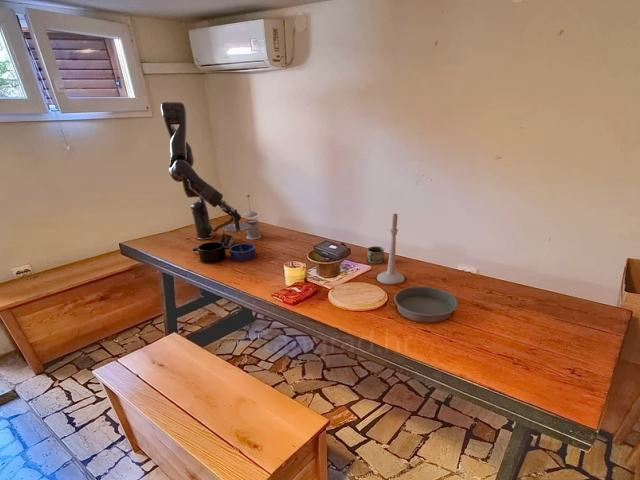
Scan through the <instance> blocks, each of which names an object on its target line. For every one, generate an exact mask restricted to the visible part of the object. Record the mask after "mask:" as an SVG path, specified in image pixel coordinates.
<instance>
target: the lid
mask: <svg viewBox="0 0 640 480" xmlns="http://www.w3.org/2000/svg"><path fill="white" fill-rule="evenodd" d="M233 211H235V213H237V214H239V212H238V209H236V208H234V210H233ZM232 220H233V223H230V224H225V225H223V226H222V230H223V231H224V232H229V233H239V232H245V231H247V230H248V229H250V228H251V225H250V224H247V223H246V222H240V220H239V221H238V220H237V219H236V218H234V217H233V218H232Z"/></svg>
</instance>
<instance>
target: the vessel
mask: <svg viewBox="0 0 640 480" xmlns="http://www.w3.org/2000/svg"><path fill="white" fill-rule="evenodd" d="M384 251H385V248H384V247H382V246H376V245H375V246H369V247H367V254H366V255H367V257H366V258H367V259H368V260H367V261H368V262H369V263H370V264H382V263H383V261H384V258H385V254H384Z"/></svg>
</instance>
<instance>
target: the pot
mask: <svg viewBox="0 0 640 480" xmlns="http://www.w3.org/2000/svg"><path fill="white" fill-rule="evenodd" d="M230 247H231V246H224V244H223V243H220V241H210V242H205V243H201V244H200V245H198V246H197V247H193V248H192V252H198V256H199V260H200V262H201V263H202V264H207V265H210V264H218V263H222V262H223V261H225V260H227V251H226V250H229V249H230Z"/></svg>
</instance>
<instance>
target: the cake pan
mask: <svg viewBox="0 0 640 480" xmlns="http://www.w3.org/2000/svg"><path fill="white" fill-rule="evenodd" d="M393 301H394V304H395V305H396V308H397V311H398V313H399V314H400V315H401V316H403V317H404V318H406V319H408V320H411V321H413V322H418V323H426V324H433V323H439V322H443V321H445V320H447V319H449V318H450V316H451V315H452V314H453V312H454V311H455V310H456V309H457V308H458V306H459V302H458V299H457V297H456V296H454V295H453V294H452V293H450V292H448V291H447V290H443V289H440V288H438V287H432V286H423V285H421V286H409V287H406V288H402V289H400V290H399V291H397V292H396V293H395V294H394V296H393Z"/></svg>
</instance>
